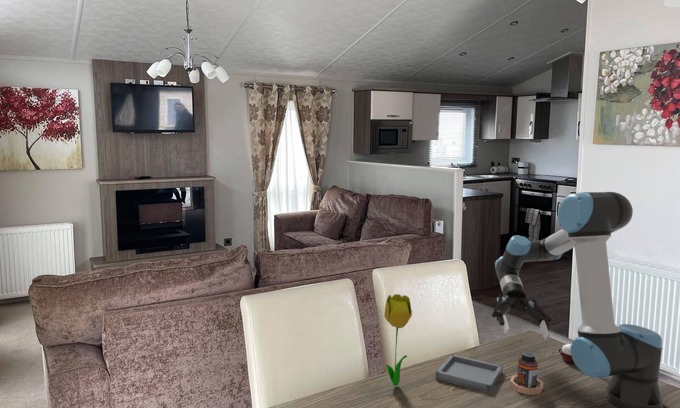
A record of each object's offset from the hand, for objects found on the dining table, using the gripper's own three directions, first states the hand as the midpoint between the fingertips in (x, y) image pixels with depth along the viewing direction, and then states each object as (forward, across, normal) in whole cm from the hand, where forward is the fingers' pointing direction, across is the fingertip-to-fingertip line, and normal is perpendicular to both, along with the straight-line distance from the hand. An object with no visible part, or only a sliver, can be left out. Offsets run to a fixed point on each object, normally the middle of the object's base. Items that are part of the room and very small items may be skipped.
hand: (527, 335), depth 171 cm
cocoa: (-6, -23, -16) cm, 29 cm away
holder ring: (+12, 0, -11) cm, 16 cm away
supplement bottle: (+12, 0, -11) cm, 17 cm away
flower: (+15, +41, -16) cm, 47 cm away
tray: (+6, +16, -16) cm, 24 cm away
